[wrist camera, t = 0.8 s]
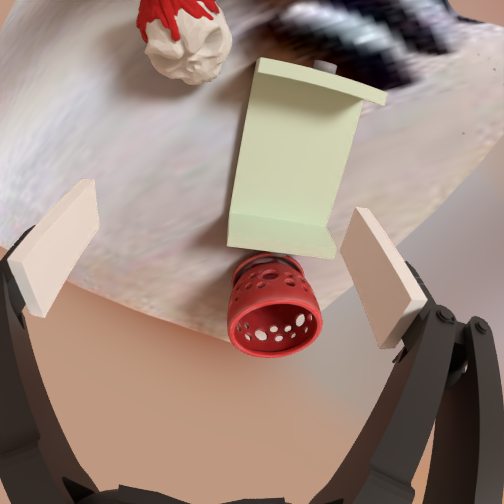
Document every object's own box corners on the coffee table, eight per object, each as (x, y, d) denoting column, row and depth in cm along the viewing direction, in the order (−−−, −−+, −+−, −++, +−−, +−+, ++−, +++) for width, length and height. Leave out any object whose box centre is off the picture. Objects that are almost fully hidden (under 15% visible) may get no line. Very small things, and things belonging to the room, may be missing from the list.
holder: (258, 51, 30) (263, 46, 24) (364, 79, 32) (390, 83, 26) (227, 225, 43) (225, 254, 37) (318, 238, 45) (330, 266, 39)
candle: (170, 100, 30) (96, 23, 15) (165, 40, 31) (111, -31, 16) (245, 75, 29) (202, -25, 14) (229, 17, 29) (192, -66, 15)
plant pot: (213, 286, 50) (209, 342, 40) (261, 229, 44) (268, 282, 34) (274, 316, 54) (281, 369, 44) (323, 269, 49) (343, 322, 39)
